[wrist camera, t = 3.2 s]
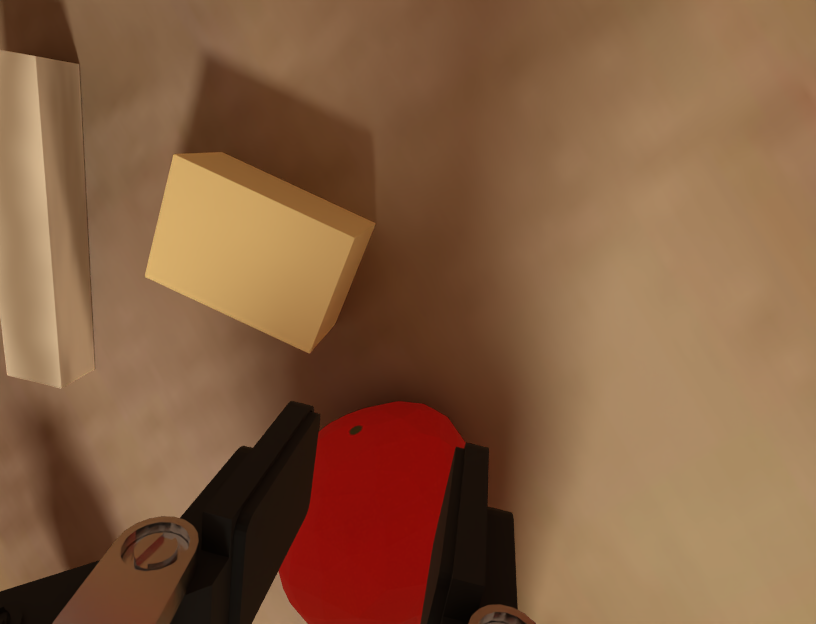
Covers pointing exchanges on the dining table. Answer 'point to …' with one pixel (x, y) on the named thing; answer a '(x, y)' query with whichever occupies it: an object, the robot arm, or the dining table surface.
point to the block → (256, 247)
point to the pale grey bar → (43, 222)
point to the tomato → (371, 516)
